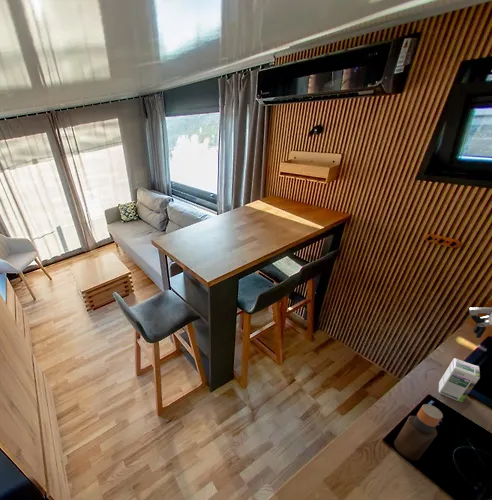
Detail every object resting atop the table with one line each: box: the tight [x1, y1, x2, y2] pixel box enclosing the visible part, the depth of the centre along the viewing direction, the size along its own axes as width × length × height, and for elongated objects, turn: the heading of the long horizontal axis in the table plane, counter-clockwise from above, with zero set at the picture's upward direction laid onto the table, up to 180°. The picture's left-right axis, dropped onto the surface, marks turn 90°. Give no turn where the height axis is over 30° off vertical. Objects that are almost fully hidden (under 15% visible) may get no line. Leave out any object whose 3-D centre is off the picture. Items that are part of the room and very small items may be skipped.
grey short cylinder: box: [413, 414, 438, 434], centre depth 74 cm, size 4×4×4 cm
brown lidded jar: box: [393, 415, 438, 461], centre depth 79 cm, size 6×6×14 cm
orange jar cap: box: [416, 403, 444, 427], centre depth 72 cm, size 4×4×4 cm
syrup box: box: [438, 357, 481, 403], centre depth 91 cm, size 6×6×14 cm
